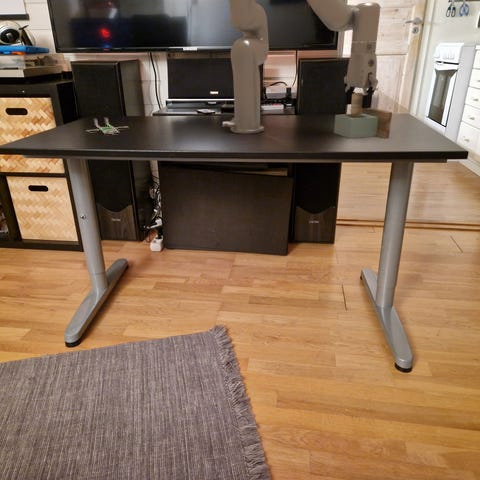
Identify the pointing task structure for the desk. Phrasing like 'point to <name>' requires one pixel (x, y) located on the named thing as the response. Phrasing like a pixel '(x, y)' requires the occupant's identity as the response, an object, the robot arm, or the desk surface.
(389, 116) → the board
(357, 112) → the dowel
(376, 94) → the photo printer
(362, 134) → the block
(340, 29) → the robot arm
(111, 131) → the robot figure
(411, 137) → the desk surface
